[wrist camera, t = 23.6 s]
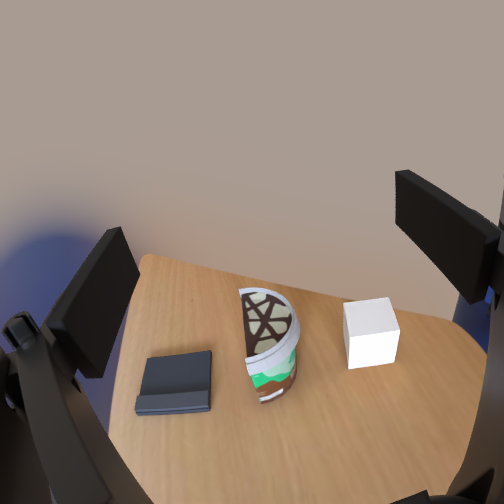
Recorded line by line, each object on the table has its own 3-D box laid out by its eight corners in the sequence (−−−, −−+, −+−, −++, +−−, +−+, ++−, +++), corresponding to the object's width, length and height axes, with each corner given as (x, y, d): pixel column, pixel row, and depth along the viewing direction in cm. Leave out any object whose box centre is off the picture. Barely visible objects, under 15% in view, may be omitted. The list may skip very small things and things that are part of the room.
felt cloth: (211, 352, 43) (209, 347, 42) (210, 411, 34) (207, 406, 34) (148, 360, 43) (145, 355, 43) (137, 415, 34) (133, 411, 34)
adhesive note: (343, 335, 41) (343, 302, 38) (384, 329, 40) (388, 296, 37) (348, 369, 36) (349, 337, 33) (393, 362, 34) (400, 329, 32)
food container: (314, 403, 32) (310, 349, 27) (262, 414, 33) (244, 363, 28) (295, 332, 43) (287, 276, 38) (253, 341, 43) (238, 286, 38)
